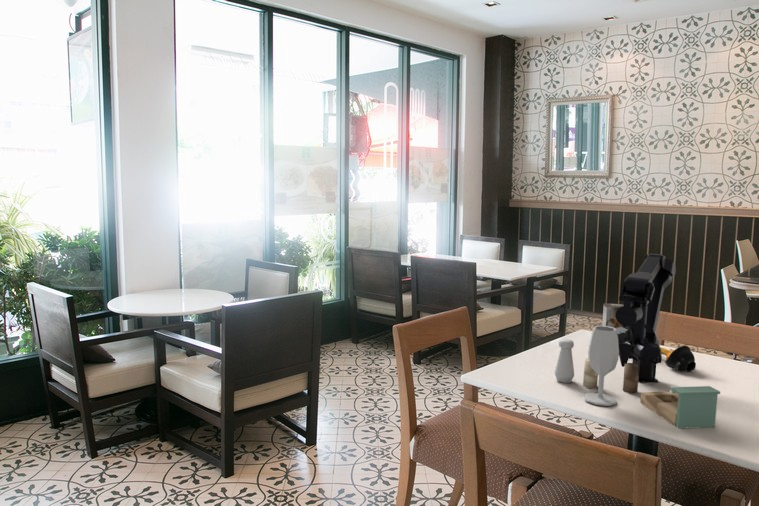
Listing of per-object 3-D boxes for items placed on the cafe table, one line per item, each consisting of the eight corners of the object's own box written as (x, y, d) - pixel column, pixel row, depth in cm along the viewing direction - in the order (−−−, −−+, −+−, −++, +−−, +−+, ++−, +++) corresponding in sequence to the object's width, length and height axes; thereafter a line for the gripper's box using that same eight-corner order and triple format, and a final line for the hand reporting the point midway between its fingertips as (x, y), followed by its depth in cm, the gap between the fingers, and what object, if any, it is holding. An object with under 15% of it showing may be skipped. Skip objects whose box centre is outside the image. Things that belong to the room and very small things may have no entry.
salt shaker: (574, 384, 183) (577, 343, 181) (555, 383, 184) (557, 341, 182) (572, 378, 189) (575, 338, 187) (553, 376, 190) (556, 336, 188)
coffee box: (626, 346, 227) (629, 304, 225) (630, 351, 220) (633, 307, 218) (600, 344, 228) (603, 302, 226) (603, 349, 222) (606, 306, 220)
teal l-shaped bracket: (706, 420, 158) (709, 386, 156) (716, 427, 154) (720, 391, 152) (667, 422, 156) (670, 387, 155) (676, 428, 152) (679, 392, 151)
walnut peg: (632, 388, 181) (634, 362, 180) (640, 393, 177) (642, 366, 176) (620, 388, 180) (622, 362, 179) (627, 393, 176) (629, 367, 175)
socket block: (673, 401, 171) (674, 391, 170) (711, 424, 155) (712, 413, 155) (640, 402, 170) (641, 392, 169) (674, 426, 154) (675, 414, 153)
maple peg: (593, 383, 184) (594, 358, 183) (599, 388, 181) (601, 362, 180) (580, 383, 184) (582, 358, 183) (586, 388, 180) (588, 362, 179)
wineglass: (612, 409, 164) (618, 334, 161) (580, 402, 169) (585, 329, 166) (619, 399, 171) (624, 327, 169) (587, 393, 176) (592, 322, 173)
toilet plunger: (680, 362, 192) (641, 331, 207) (680, 387, 198) (642, 355, 213) (704, 351, 193) (664, 321, 208) (703, 375, 199) (664, 344, 214)
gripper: (594, 312, 184) (590, 362, 186) (626, 328, 166) (622, 383, 168) (628, 312, 185) (624, 361, 188) (664, 327, 167) (659, 382, 169)
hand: (631, 371), depth 178 cm, fingers open, 9 cm apart
